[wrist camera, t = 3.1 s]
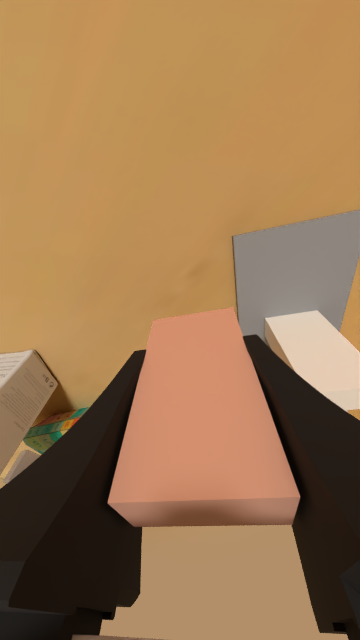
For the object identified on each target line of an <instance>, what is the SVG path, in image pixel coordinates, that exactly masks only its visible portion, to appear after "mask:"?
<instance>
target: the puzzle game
mask: <svg viewBox="0 0 360 640" xmlns="http://www.w3.org/2000/svg"><path fill="white" fill-rule="evenodd" d="M89 408H90V407H87V408H83V409H79V410H74V411H70V412H66V413H62V414H57V415H53V416H50V417H49V418H47V419H46V420H44V421H42V422H41V423H39V424H37V425H35V426H33V427H31V428H30V429H29V431H28V432H27V434H26V435H25V437H24V439H23V441H24V442H25V444H26V445H28V446H29V447H31V448H32V449H34V450H36V451H37V452H39V453H41V454H43V453H44V452H45V451H46V450H47V449H48V448H50V447H51V446H52V445H53V444H54V443H55V442H56V441H57V440H58V439H59V438H60V437H61V436H63V435H64V434H65V433H66V432H67V431H68V430H69V429H70V428H71V427H72V426H73V425H74V424H75V423H76V422H77V421H78V420H79V419H80V418H81V417H82V415H83V414H84V413H85V412H86V411H87V410H88V409H89Z"/></svg>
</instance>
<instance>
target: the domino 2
mask: <svg viewBox="0 0 360 640" xmlns="http://www.w3.org/2000/svg"><path fill="white" fill-rule="evenodd" d="M265 337H266V339H267V341H268V343H269V345H270V347H271V349H272V351H273V352H274V353H275V354H276V355H277V356H279V357H280V358H281V359H282V360H283V361H284V362H285V363H286V364H287V365H288V366H289V367H290V368H291V369H293V370H294V371H295V372H296V373H297V374H298V375H299V376H301V377H302V378H303V379H304V380H305V381H307V382H308V383H309V384H310V385H311V386H313V387H314V388H315V389H316V390H318V391H319V392H320V393H322V394H323V395H324V396H326V397H327V398H328V399H330V400H331V401H332V402H334V403H335V404H336V405H338V406H339V407H341V408H342V409H343V410H352V409H360V352H359V351H358V350H357V349H356V348H355V347H354V346H353V345H352V344H351V343H350V342H349V341H348V340H347V339H346V338H345V337H344V336H343V335H342V334H341V333H340V332H339V331H338V330H337V329H336V328H335V327H334V326H333V325H332V324H331V323H330V322H329V321H328V320H327V319H326V318H325V317H324V316H323V315H322V314H321V313H320V312H319V311H318V310H316V311H309V312H303V313H296V314H289V315H283V316H276V317H269V318H265Z"/></svg>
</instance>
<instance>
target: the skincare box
mask: <svg viewBox="0 0 360 640" xmlns="http://www.w3.org/2000/svg"><path fill="white" fill-rule="evenodd" d="M57 386H58V383H57V381H56V380H55V379H54V377H53V376H52V375H51V373H50V372H49V370H48V369H47V367H46V366H45V364H44V363H43V361H42V360H41V358H40V357H39V355H38V354H37V353H36V351H35V350H29V351H25V352H17V353H8V354H0V474H1V473H2V471H3V470H4V468H5V467H6V465H7V464H8V462H9V460H10V459H11V457H12V456H13V454H14V453H15V451H16V449H17V448H18V446H19V445H20V443H21V442H22V440H23V439H24V437H25V435H26V434H27V432H28V431H29V429H30V428H31V426H32V425H33V423H34V421H35V420H36V418H37V417H38V415H39V414H40V412H41V411H42V409H43V408H44V406H45V404H46V403H47V401H48V400H49V398H50V397H51V395H52V393H53V392H54V390H55V389H56V387H57Z"/></svg>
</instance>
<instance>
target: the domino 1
mask: <svg viewBox="0 0 360 640" xmlns="http://www.w3.org/2000/svg"><path fill="white" fill-rule="evenodd" d="M242 336H243V334H242V332H241V329H240V326H239V323H238V320H237V318H236V315H235V312H234V309H233V307H232V308H226V309H220V310H213V311H207V312H201V313H194V314H188V315H182V316H176V317H169V318H163V319H157V320H153V324H152V328H151V332H150V336H149V340H148V344H147V348H146V354H145V358H144V362H143V366H142V369H141V372H140V375H139V379H138V383H137V387H136V391H135V395H134V399H133V403H132V407H131V411H130V415H129V419H128V423H127V427H126V431H125V435H124V439H123V443H122V447H121V451H120V455H119V459H118V463H117V467H116V471H115V475H114V479H113V483H112V487H111V491H110V495H109V499H108V504H109V505H110V506H111V507H112V508H113V509H115V510H116V511H117V512H118V513H119V514H120V515H121V516H122V517H124V518H125V519H126V520H127V521H128V522H129V523H130V524H131V525H133V526H134V527H155V526H156V527H160V526H223V525H224V526H228V525H292V524H293V521H294V517H295V514H296V510H297V507H298V503H299V500H300V495H299V492H298V489H297V486H296V483H295V480H294V478H293V475H292V472H291V469H290V466H289V464H288V461H287V458H286V455H285V452H284V450H283V447H282V444H281V441H280V438H279V436H278V433H277V430H276V427H275V424H274V421H273V419H272V416H271V413H270V410H269V407H268V405H267V402H266V399H265V396H264V393H263V391H262V388H261V385H260V382H259V379H258V377H257V374H256V371H255V368H254V365H253V362H252V360H251V357H250V355H249V353H248V351H247V348H246V345H245V343H244V340H243V337H242Z"/></svg>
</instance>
